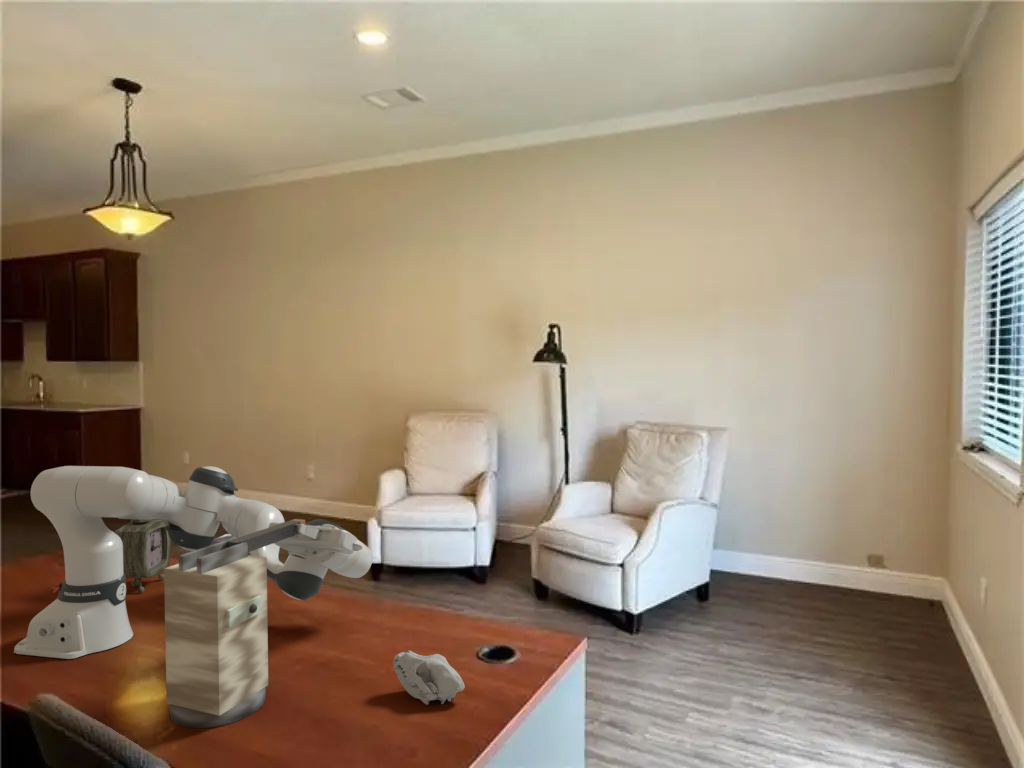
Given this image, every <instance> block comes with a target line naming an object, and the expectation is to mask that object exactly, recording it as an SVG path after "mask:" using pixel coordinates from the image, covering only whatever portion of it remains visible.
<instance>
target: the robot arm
mask: <svg viewBox="0 0 1024 768" xmlns="http://www.w3.org/2000/svg"><path fill="white" fill-rule="evenodd" d="M188 479H189V481H188V483H187V485H186V487H185V489H184V491H183V492H182V490H181V488H180V486H178V484H176V483H174V482H172V481H171V480H170V479H167V478H163V477H161V476H159V475H157V476H156V475H152V474H149V473H148V472H146V471H144V470H139V469H135V468H132V467H126V466H106V465H105V466H102V465H101V466H100V465H99V466H98V465H97V466H95V465H92V466H91V465H86V466H85V465H64V466H58V467H54V468H49V469H45V470H42V471H41V472H39V474H38V475H37V476H36V477H35V479H34V480H33V481H32V484H31V488H30V500H31V502H32V504H33V507H35V509H36V510H37V511H40V513H42V514H43V515H44V516H46V518H47V519H48V520H49V521H50V523H51V524H52V525H53V527H54V528H55V530H56V532H57V534H58V537H59V539H60V541H61V545H62V549H63V559H64V571H65V574H64V576H65V577H64V579H65V580H63V581H62V582H61V583H59V584H58V585H56V586H54V587H52V589H54V590H53V592H52V593H57V592H58V596H57V598H56V599H54V601H52V602H50V604H49V605H47V606H46V607H45V608H43V609H42V610H41V611H39V612H38V613H37V614H36V615H35V616H34V617H33V618H32V619H31V620H30V622H29V624H28V628H27V633H26V637H25V638H23V639H22V640H20V641H19V642H18V643H16V645H15V646H14V649H13V654H15V653H16V654H17V655H25V656H36V657H45V658H54V659H66V660H71V659H72V660H73V659H77V658H79V657H83V656H85V655H89V654H94V653H97V652H98V653H99V652H102V651H103V652H104V651H107V650H109V649H110V650H111V649H113V648H116V647H118V646H120V645H123V644H125V643H127V642H128V641H130V640H131V639H132V638H133V637H134V632H133V630H132V627H131V623H130V620H129V616H128V610H127V605H126V604H127V602H126V598H127V578H126V574H125V573H124V571H123V543H122V540H121V538H120V537H119V536H118V535H117V534H115V533H114V532H115V531H112V530H111V529H109V527H108V526H106V524H105V522H104V520H103V519H102V518H117V519H119V520H121V519H122V520H132V519H135V520H165V521H168V524H169V526H164V529H165V530H167V531H168V534H169V537H170V539H171V543H173V544H174V545H175V546H178V547H179V548H181V549H182V550H185V551H188V552H192V551H195V550H198V549H201V548H204V547H207V546H210V545H212V544H213V540H214V539H216V537H215V534H216V533H217V531H218V529H219V527H220V524H221V526H222V527H223V529H224V531H227V534H231V535H232V536H234V537H235V538H239V537H242V536H245V535H248V534H251V533H254V532H257V531H260V530H263V529H266V528H269V527H272V526H275V525H278V524H281V523H284V522H286V521H285V518H284V516H283V514H282V512H281V511H280V510H279V509H278V508H276V507H275V506H274V505H271V504H269V503H267V502H264V501H261V500H258V499H257V500H256V499H249V498H241V497H237V496H236V494H235V492H239V488H238V487H236V485H235V481H234V479H233V478H232V476H231V475H230V473H227V472H226V471H225V470H224V469H222V468H220V467H217V466H211V465H210V466H208V465H207V466H199V467H196V468H195V469H194V470H193V471H192V473H191V475H190V476H189V478H188ZM294 531H295V532H296V533H298V534H297V535H295V536H292V537H289V538H286V539H284V540H281V541H278V542H275V543H273V544H270V545H267V546H264V547H262V548H259V549H256V550H253V551H251V552H248V555H253V556H260V557H267V578H268V579H270V580H271V581H272V582H273V583H275V584H276V586H277V587H278V588H279V589H280V590H281V591H282V592H283V593H284V594H285V595H286V596H288V597H290V598H292V599H295V600H297V601H298V600H299V601H303V602H304V601H307V600H310V599H312V598H313V597H315V596H317V595H318V594H319V593H320V590H321V588H322V585H323V583H324V578H325V576H326V575H327V572H328V570H330V571H332V572H334V573H336V574H338V575H341V576H344V577H348V578H351V579H352V578H353V579H359V578H362V577H363V576H365V575H366V574H367V573H368V572H369V570H370V569H371V566H372V564H373V553H372V550H371V549H370V548H369V547H368V546H367V545H366V544H365V543H363V542H362V541H360V540H359V539H358V538H357V536H355V535H354V534H352V533H351V532H349V531H348V530H346V529H345V528H343V527H341V525H338V524H336V523H334V522H331V521H329V520H326V519H323V518H317V519H314V520H311V521H308V522H305V525H304V524H296V528H295V530H294ZM280 548H281V549H283V550H285V551H287V554H288V557H287V558H286V560H285V562H284V563H283V562H282V561H280V559H279V554H280Z"/></svg>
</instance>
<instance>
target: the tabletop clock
mask: <svg viewBox="0 0 1024 768" xmlns="http://www.w3.org/2000/svg"><path fill="white" fill-rule="evenodd" d="M164 526H169V524H168V521H165V520H159V519H156V520H135V519H130V522H128V523H126V524H124V525H123V526H121V527H119V528H118V529H116V530H114V531H113V532H114V533H115V534H117V535H118V536H119V537H120V538H121V540H122V543H123V571H124V573H125V574H126V579H133V580H132V582H131V583H130V584H131V587H132V588H133V587H134V588H135V586H136V587H137V586H138V588H137V592H138V593H139V594H143V593H144V591H145V588H144V586H143V585H142V579H151V578H153V577H155V576H158V580H159V581H164V573H162V572H164V568H167V567H169V564H170V561H171V551H172V550H171V545H172V540H171V539H170V537H169V534H168V531H167V530H165V529H164Z"/></svg>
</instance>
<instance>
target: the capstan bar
mask: <svg viewBox="0 0 1024 768" xmlns="http://www.w3.org/2000/svg"><path fill="white" fill-rule="evenodd" d="M296 524H304V525H305V524H306V519H300V518H294V519H291V520H288V521H285V522H284V523H281V524H278V525H275V526H272V527H269V528H266V529H263V530H260V531H257V532H254V533H251V534H248V535H245V536H242V537H239V538H236V539H233V540H230V541H227V548H228V547H231V546H234V545H237V544H240V543H243V542H244V543H248V552H251V551H253V550H256V549H259V548H262V547H264V546H267V545H270V544H273V543H275V542H278V541H281V540H284V539H286V538H289V537H292V536H295V535H297V534H298V533H296V532H295V531H294V530H295V528H296Z"/></svg>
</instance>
